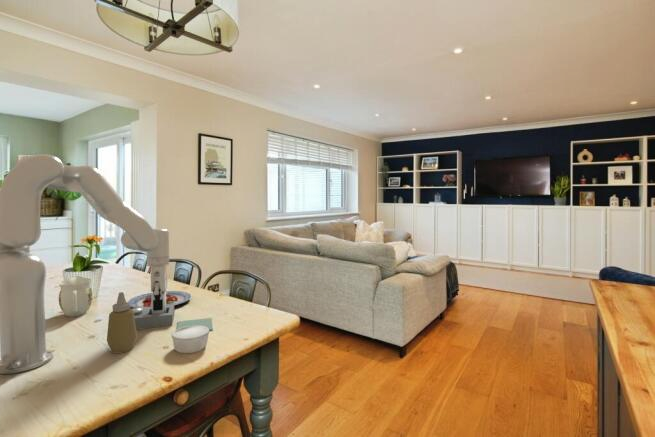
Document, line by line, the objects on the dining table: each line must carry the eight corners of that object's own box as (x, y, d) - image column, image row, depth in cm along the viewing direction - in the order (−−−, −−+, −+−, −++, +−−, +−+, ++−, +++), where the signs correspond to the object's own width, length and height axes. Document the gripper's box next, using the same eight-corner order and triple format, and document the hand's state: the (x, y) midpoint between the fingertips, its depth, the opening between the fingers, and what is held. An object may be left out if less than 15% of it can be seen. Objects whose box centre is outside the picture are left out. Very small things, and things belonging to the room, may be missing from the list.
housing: (174, 314, 137) (174, 305, 136) (172, 325, 126) (172, 314, 125) (129, 319, 131) (129, 309, 131) (122, 330, 120) (122, 319, 120)
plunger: (142, 322, 125) (141, 310, 125) (129, 323, 124) (129, 311, 124) (143, 318, 129) (143, 307, 129) (131, 320, 128) (131, 308, 128)
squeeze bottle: (131, 341, 111) (130, 287, 110) (141, 348, 106) (140, 292, 105) (102, 350, 104) (101, 293, 103) (112, 358, 99) (111, 298, 98)
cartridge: (165, 322, 128) (165, 291, 127) (150, 324, 126) (150, 292, 125) (166, 318, 133) (166, 287, 132) (152, 319, 131) (152, 288, 130)
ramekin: (190, 337, 115) (190, 322, 114) (216, 343, 111) (216, 327, 110) (163, 351, 104) (163, 334, 104) (191, 358, 100) (191, 340, 100)
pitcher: (56, 323, 125) (55, 287, 124) (61, 310, 140) (60, 277, 139) (92, 318, 131) (91, 283, 131) (93, 306, 146) (92, 274, 145)
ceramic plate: (121, 302, 153) (121, 295, 153) (180, 292, 170) (180, 286, 170) (135, 317, 134) (134, 310, 134) (199, 304, 151) (199, 298, 151)
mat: (212, 330, 121) (212, 329, 121) (176, 334, 117) (176, 333, 117) (211, 319, 132) (211, 317, 132) (178, 322, 128) (178, 321, 128)
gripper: (167, 264, 121) (167, 314, 122) (170, 256, 137) (171, 300, 138) (143, 265, 119) (144, 316, 120) (150, 257, 135) (151, 302, 136)
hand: (158, 307), depth 129 cm, fingers closed on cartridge, 5 cm apart
